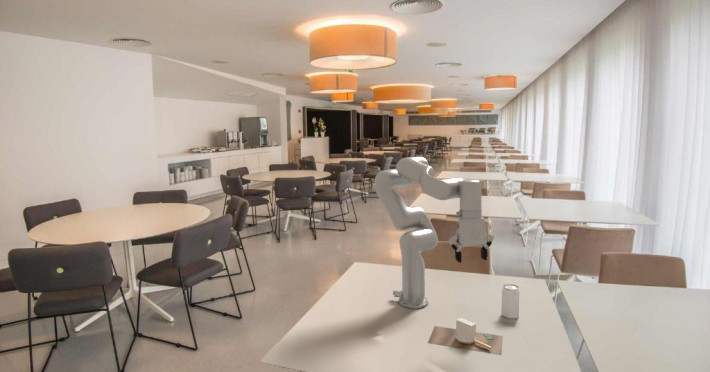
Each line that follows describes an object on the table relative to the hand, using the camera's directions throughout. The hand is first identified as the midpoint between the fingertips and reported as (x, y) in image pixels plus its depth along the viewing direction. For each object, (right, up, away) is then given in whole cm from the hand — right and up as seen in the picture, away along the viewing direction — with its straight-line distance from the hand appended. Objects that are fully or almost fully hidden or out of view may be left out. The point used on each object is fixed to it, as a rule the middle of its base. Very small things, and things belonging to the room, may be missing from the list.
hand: (471, 260), depth 154 cm
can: (+19, -25, +14) cm, 34 cm away
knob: (-2, -26, -9) cm, 28 cm away
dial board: (-4, -28, -6) cm, 29 cm away
